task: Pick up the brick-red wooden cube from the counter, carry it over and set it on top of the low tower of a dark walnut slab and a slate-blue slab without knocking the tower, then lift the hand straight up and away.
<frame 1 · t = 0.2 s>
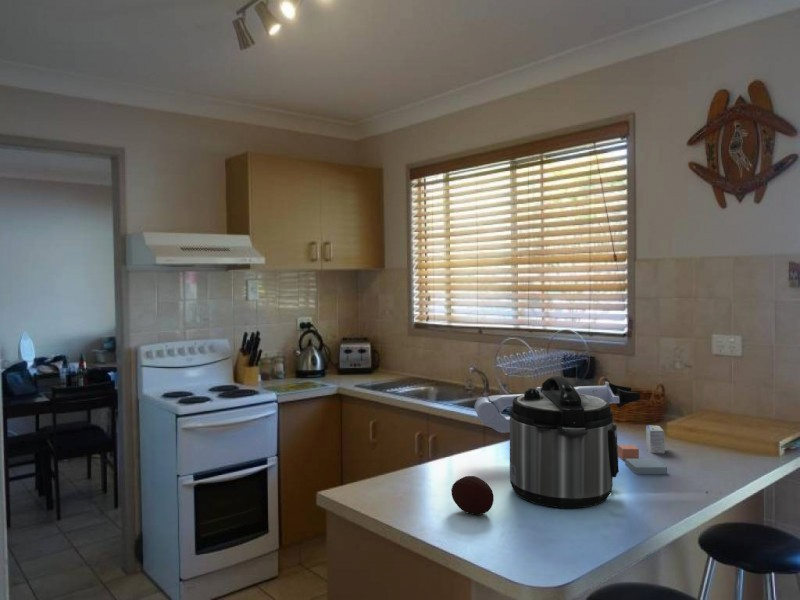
hand: (635, 393, 201), 21 cm above the worktop, tool horizontal, fingers open, 7 cm apart
top block: (645, 469, 187), point 1 cm above the worktop, touching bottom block
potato: (472, 514, 158), on the worktop
red cube: (627, 462, 199), on the worktop
medicine box: (655, 454, 208), on the worktop
pressure cooker: (563, 494, 172), on the worktop
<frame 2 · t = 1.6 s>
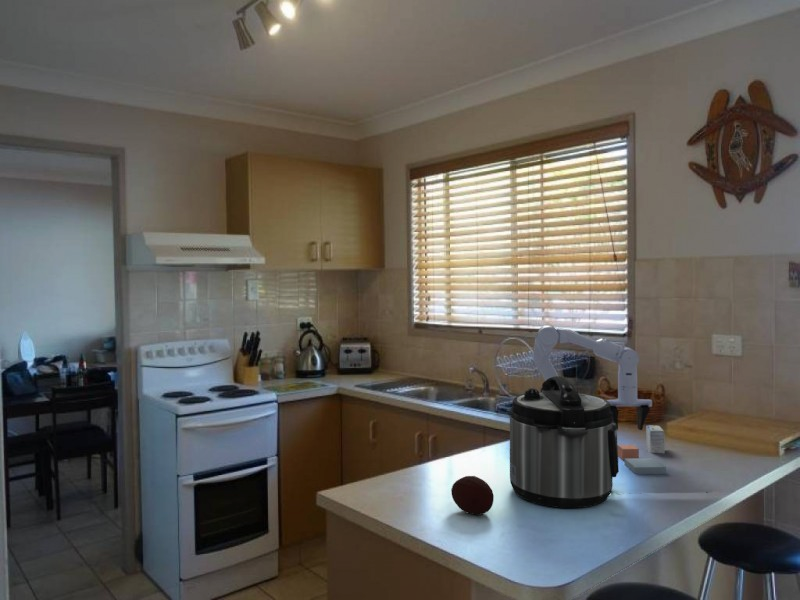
hand: (627, 429, 199), 10 cm above the worktop, tool pointing down, fingers open, 7 cm apart
nothing on the worktop moved.
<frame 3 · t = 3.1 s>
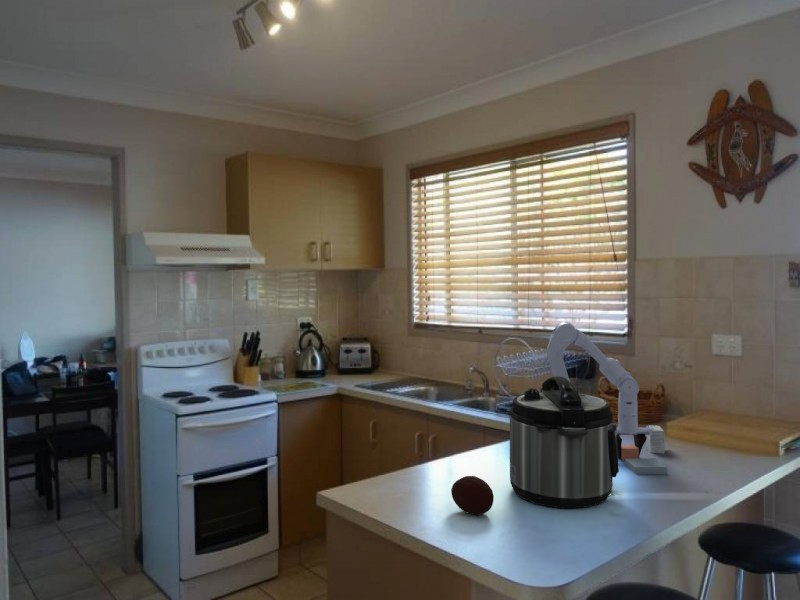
hand: (627, 457, 199), 1 cm above the worktop, tool pointing down, fingers closed on red cube, 5 cm apart
red cube: (627, 462, 199), on the worktop, touching gripper
everything else where it was.
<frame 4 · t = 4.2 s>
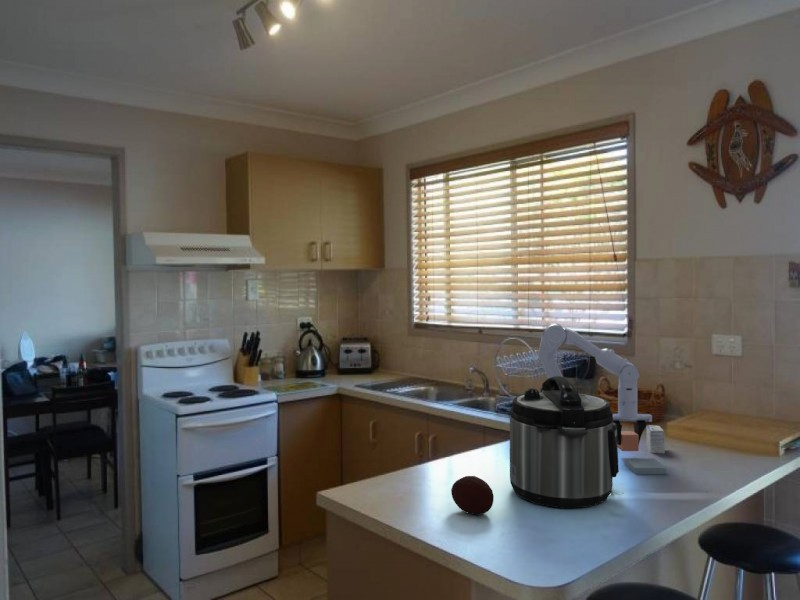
hand: (627, 444, 199), 6 cm above the worktop, tool pointing down, fingers closed on red cube, 5 cm apart
red cube: (627, 448, 199), point 4 cm above the worktop, touching gripper
everything else where it was.
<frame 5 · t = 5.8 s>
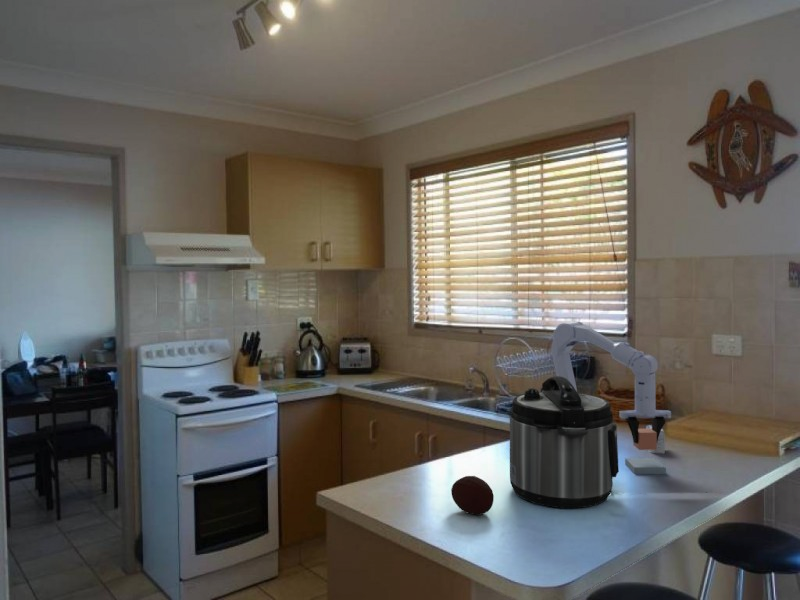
hand: (645, 442, 187), 9 cm above the worktop, tool pointing down, fingers closed on red cube, 5 cm apart
red cube: (644, 447, 187), point 8 cm above the worktop, touching gripper
everything else where it was.
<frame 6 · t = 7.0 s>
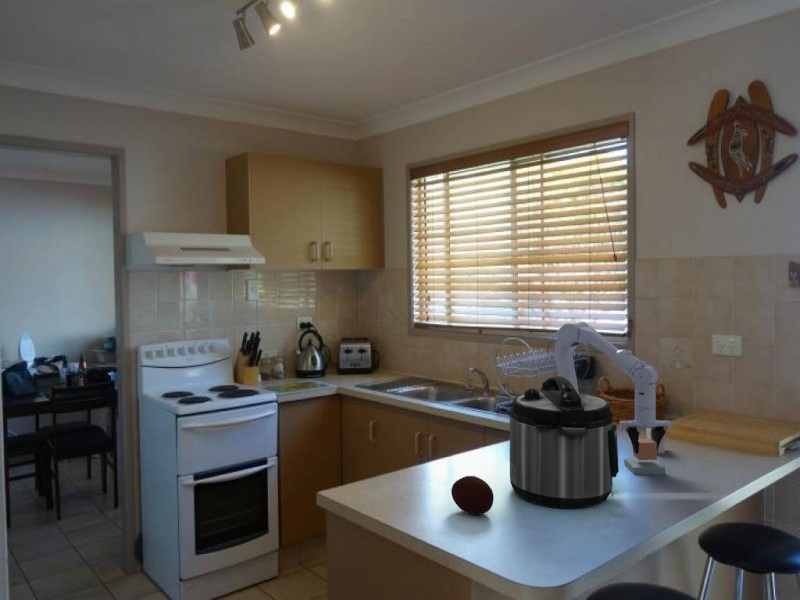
hand: (645, 452, 187), 6 cm above the worktop, tool pointing down, fingers closed on red cube, 5 cm apart
red cube: (644, 457, 187), point 5 cm above the worktop, touching gripper
everything else where it was.
when the fingers open (6 cm above the worktop, at t = 7.0 s): red cube drops 2 cm, resting on top block.
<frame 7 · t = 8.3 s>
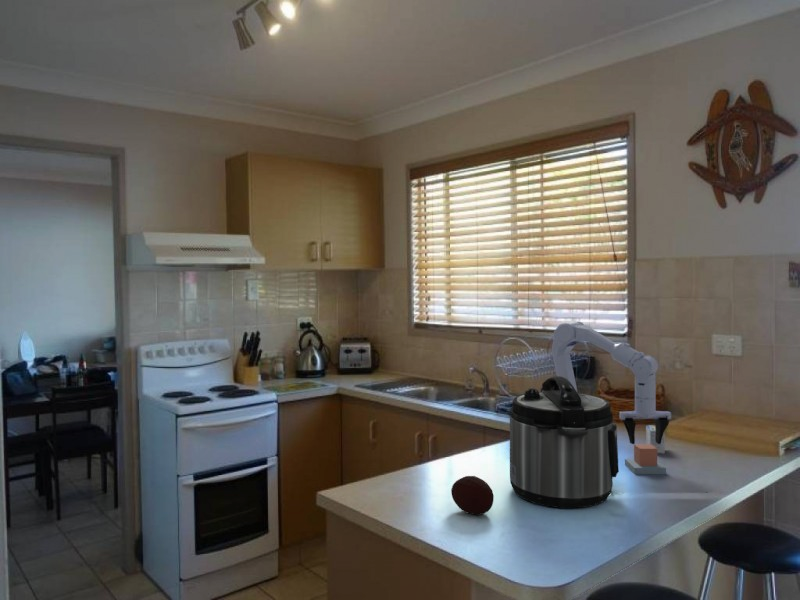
hand: (645, 443, 187), 9 cm above the worktop, tool pointing down, fingers open, 7 cm apart
top block: (645, 469, 187), point 1 cm above the worktop, touching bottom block, red cube
red cube: (645, 463, 187), point 3 cm above the worktop, touching top block
everything else where it was.
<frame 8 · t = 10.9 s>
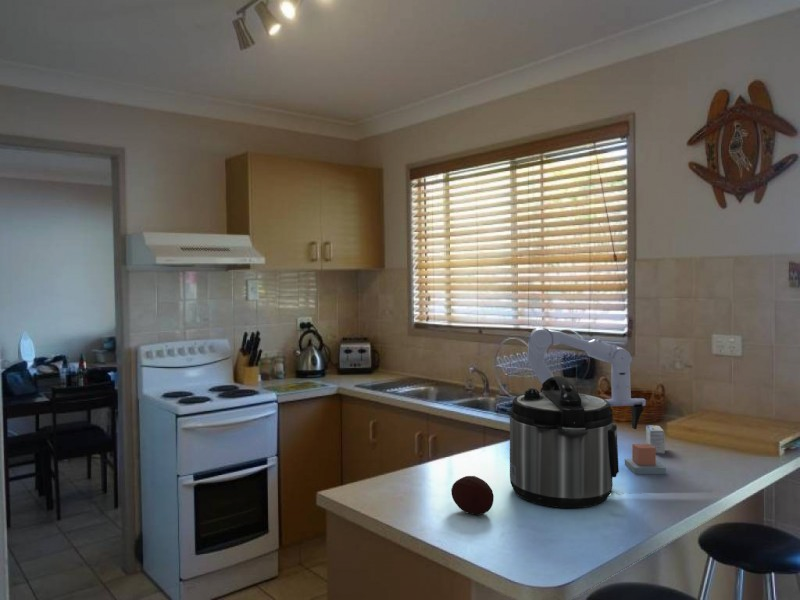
hand: (622, 428, 200), 10 cm above the worktop, tool pointing down, fingers open, 7 cm apart
top block: (644, 469, 187), point 1 cm above the worktop, touching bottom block
red cube: (643, 462, 187), point 3 cm above the worktop
everything else where it was.
at the end: red cube 0.2 cm off-centre on the top block, point 2.1 cm above the top block's base; red cube tilted 1°; top block moved 0.8 cm from its start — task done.
